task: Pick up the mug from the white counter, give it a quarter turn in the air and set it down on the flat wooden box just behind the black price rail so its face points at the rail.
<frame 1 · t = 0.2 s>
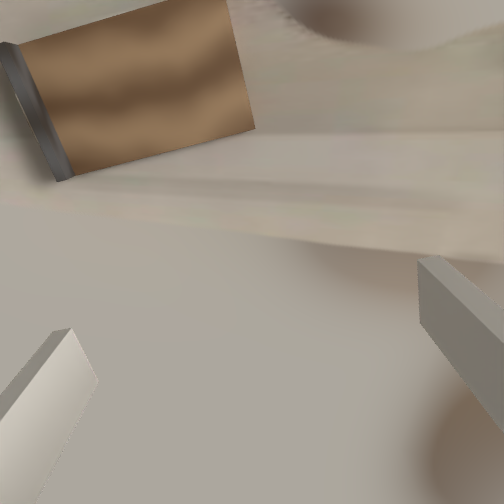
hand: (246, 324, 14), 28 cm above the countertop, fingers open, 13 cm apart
flat wooden box: (142, 90, 36), on the countertop
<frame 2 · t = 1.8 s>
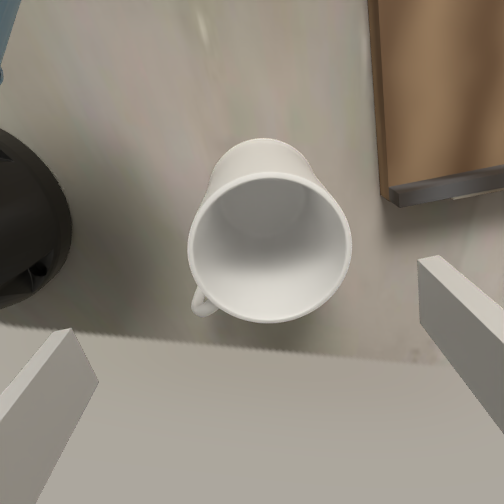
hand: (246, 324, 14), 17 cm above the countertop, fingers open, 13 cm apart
flat wooden box: (460, 34, 24), on the countertop
mug: (248, 207, 29), on the countertop
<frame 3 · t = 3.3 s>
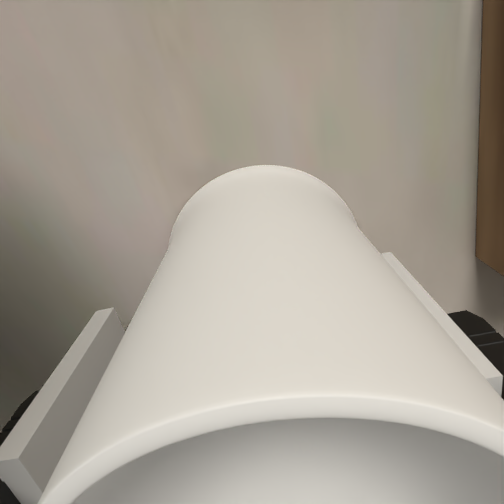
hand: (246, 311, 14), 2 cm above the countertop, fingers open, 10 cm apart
mug: (240, 281, 17), on the countertop, touching gripper
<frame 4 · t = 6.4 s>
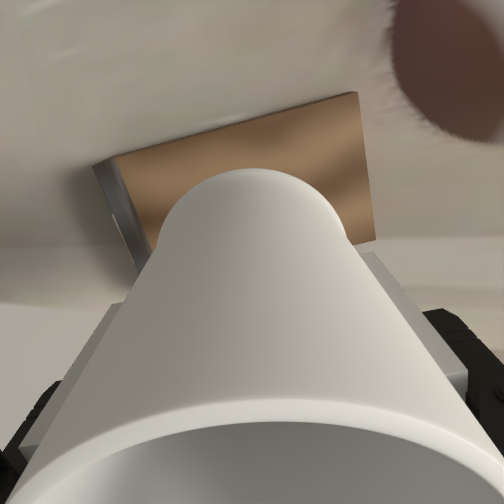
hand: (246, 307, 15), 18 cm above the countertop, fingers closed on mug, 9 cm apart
flat wooden box: (245, 196, 31), on the countertop
mug: (228, 283, 17), point 16 cm above the countertop, touching gripper
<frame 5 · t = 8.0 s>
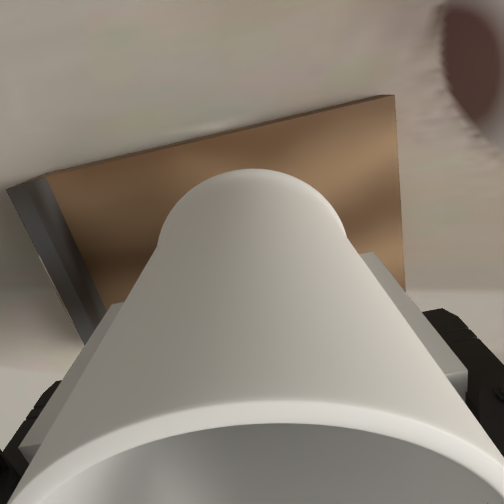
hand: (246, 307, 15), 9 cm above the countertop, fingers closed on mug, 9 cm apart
flat wooden box: (231, 230, 23), on the countertop
mug: (229, 283, 17), point 7 cm above the countertop, touching gripper
when the fingers open (5 cm above the countertop, at t = 9.2 s): mug drops 1 cm, resting on flat wooden box.
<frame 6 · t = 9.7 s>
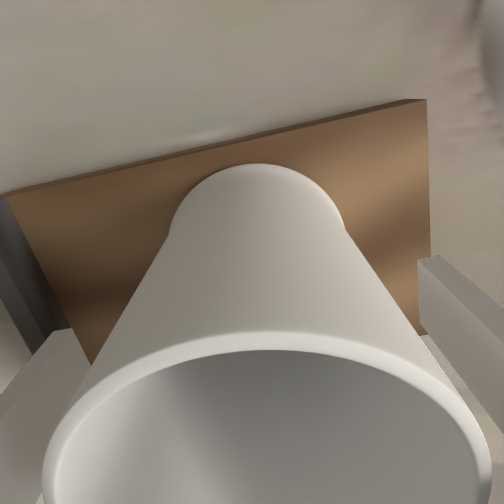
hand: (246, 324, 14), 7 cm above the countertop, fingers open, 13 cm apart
flat wooden box: (229, 257, 20), on the countertop
mug: (235, 272, 18), point 2 cm above the countertop, touching flat wooden box
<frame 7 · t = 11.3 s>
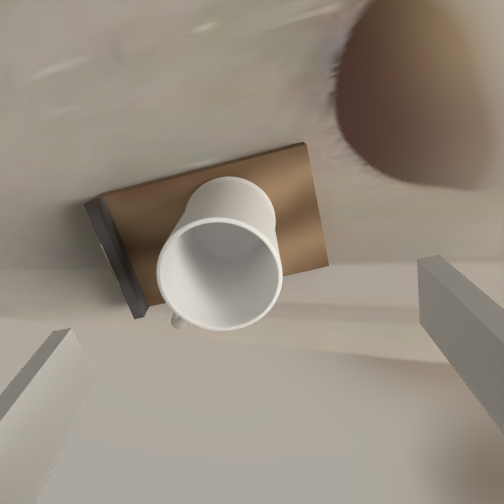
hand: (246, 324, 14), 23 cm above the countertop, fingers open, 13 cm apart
flat wooden box: (217, 227, 36), on the countertop
mug: (219, 233, 35), point 2 cm above the countertop, touching flat wooden box
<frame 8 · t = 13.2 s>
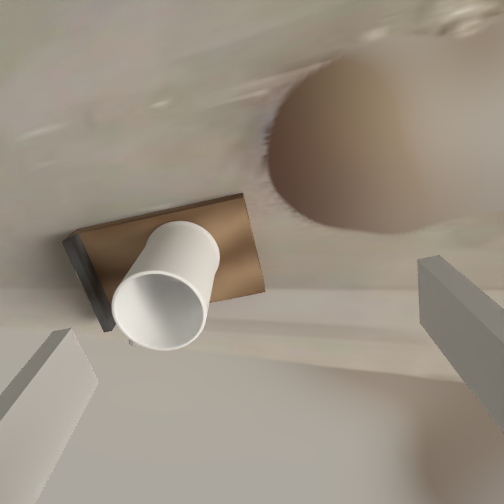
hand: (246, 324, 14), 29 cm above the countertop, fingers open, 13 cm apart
flat wooden box: (174, 257, 44), on the countertop
mug: (174, 264, 42), point 2 cm above the countertop, touching flat wooden box
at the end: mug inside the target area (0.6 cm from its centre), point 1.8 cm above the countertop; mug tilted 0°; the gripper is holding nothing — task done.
